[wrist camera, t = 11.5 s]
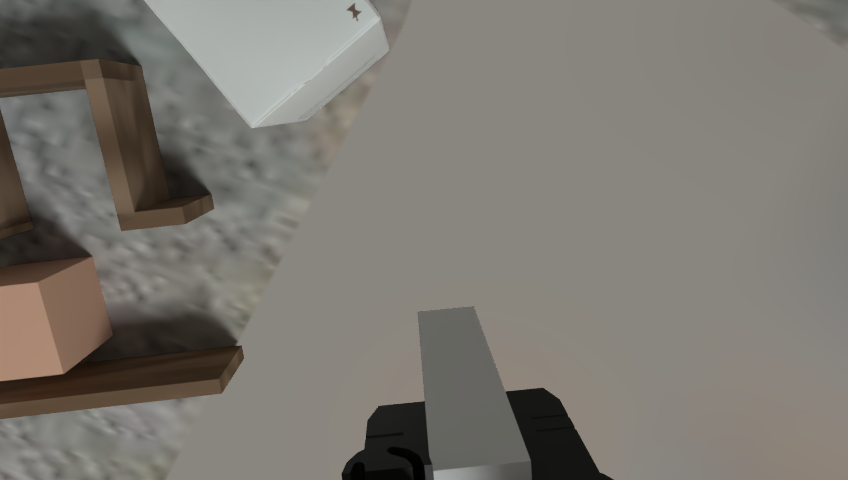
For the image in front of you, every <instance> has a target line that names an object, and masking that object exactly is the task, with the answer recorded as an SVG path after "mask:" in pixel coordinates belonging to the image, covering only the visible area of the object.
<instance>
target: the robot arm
mask: <svg viewBox="0 0 848 480" xmlns="http://www.w3.org/2000/svg"><path fill="white" fill-rule="evenodd" d="M418 322H419V335H420V347H421V359H422V372H423V384H424V397H425V401H424V402H414V403H404V404H394V405H384V406H378V408H377V409H376V410H375V412H374V413H373V414H372V416H371V417H370V418H369V419H368V422H367V431H366V440H365V449H364V450H362V451H360V452H358V453H357V454H356V455H355V456H353V457H352V458H351V459H350V460H349V461H348V462H347V463H346V465H345V468H344V470H343V472H342V480H613V479H612V478H610V477H608V476H606V475H605V474H602V473H600V472H599V470H598V469H597V467H596V465H595V463H594V462H593V460H592V458H591V456H590V454H589V452H588V450H587V449H586V447H585V445H584V443H583V441H582V439H581V438H580V436H579V434H578V432H577V430H575V428H574V425H573V423H572V421H571V419H570V418H569V417H568V414H567V412H566V410H565V408H564V407H563V405H562V403H561V401H560V399H558V398H557V397H555V396H554V395H553V394H551V393H550V392H548V391H547V390H545V389H544V388H537V389H527V390H517V391H507V392H505V390H504V387H503V385H502V381H501V379H500V376H499V373H498V371H497V368H496V365H495V363H494V360H493V357H492V354H491V352H490V349H489V346H488V344H487V341H486V338H485V336H484V333H483V330H482V327H481V325H480V322H479V319H478V317H477V314H476V311H475V309H474V306H472V307H463V308H452V309H441V310H431V311H421V312H418Z"/></svg>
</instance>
